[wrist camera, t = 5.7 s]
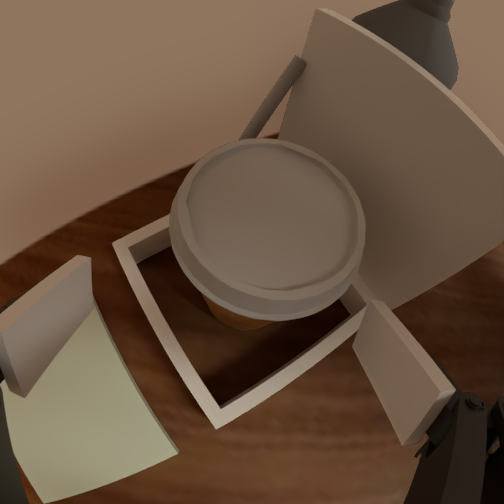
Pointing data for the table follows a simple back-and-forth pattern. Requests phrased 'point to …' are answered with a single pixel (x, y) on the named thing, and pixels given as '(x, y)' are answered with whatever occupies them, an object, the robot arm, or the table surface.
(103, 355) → the board
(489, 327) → the table surface
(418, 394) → the robot arm
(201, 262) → the disposable coffee cup
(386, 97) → the access hatch
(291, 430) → the table surface
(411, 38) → the liquor
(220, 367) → the table surface
